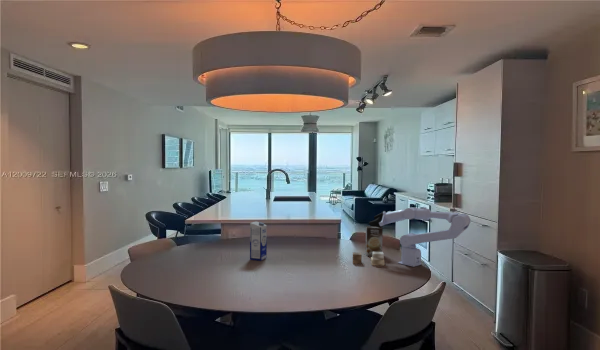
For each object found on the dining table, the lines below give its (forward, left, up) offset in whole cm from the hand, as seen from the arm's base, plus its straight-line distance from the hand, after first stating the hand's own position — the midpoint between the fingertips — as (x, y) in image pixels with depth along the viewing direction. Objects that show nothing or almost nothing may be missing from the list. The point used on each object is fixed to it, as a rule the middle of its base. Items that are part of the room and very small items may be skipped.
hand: (372, 221), depth 204 cm
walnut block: (-2, +16, -20) cm, 26 cm away
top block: (-11, +9, -18) cm, 22 cm away
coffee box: (+3, -6, -20) cm, 21 cm away
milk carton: (+37, +51, -20) cm, 66 cm away
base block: (-10, +9, -21) cm, 25 cm away
